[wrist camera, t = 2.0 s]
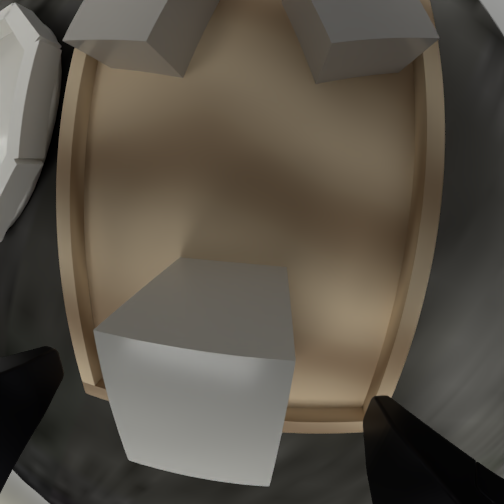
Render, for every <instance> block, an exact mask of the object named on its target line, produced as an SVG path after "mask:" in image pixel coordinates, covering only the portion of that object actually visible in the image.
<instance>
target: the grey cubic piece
mask: <svg viewBox="0 0 504 504" xmlns="http://www.w3.org/2000/svg"><path fill="white" fill-rule="evenodd" d="M219 1H220V0H84V1H83V3H82V4H81V6H80V8H79V10H78V11H77V13H76V15H75V17H74V19H73V21H72V22H71V24H70V26H69V28H68V30H67V32H66V34H65V36H64V38H63V40H62V41H64V42H65V43H67V44H69V45H71V46H73V47H75V48H77V49H78V50H80V51H82V52H84V53H86V54H87V55H89V56H91V57H93V58H94V59H96V60H98V61H100V62H101V63H103V64H105V65H107V66H108V67H110V68H115V69H125V70H134V71H142V72H149V73H156V74H162V75H168V76H174V77H180V78H183V77H184V75H185V72H186V70H187V68H188V65H189V63H190V61H191V58H192V56H193V54H194V52H195V49H196V47H197V45H198V43H199V41H200V39H201V37H202V34H203V32H204V30H205V28H206V26H207V24H208V22H209V20H210V18H211V16H212V14H213V12H214V10H215V9H216V7H217V5H218V3H219Z"/></svg>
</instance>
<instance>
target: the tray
mask: <svg viewBox="0 0 504 504" xmlns="http://www.w3.org/2000/svg"><path fill="white" fill-rule="evenodd" d="M420 2H421V4H422V5H423V7H424V9H425V11H426V12H427V14H428V16H429V18H430V20H431V22H432V23H433V25H434V27H435V22H434V17H433V12H432V8H431V3H430V0H420ZM435 29H436V27H435ZM444 157H445V109H444V90H443V78H442V68H441V59H440V52H439V45H438V40H437V41H436V42H435V43H434V44H433V45H431V46H430V47H429V48H428V49H426V50H425V51H424V52H423V53H422V54H420V55H419V56H418V57H417V58H416V59H414V60H413V61H412V62H411V63H410V64H408V65H407V66H406V67H405V68H404V69H403V70H401V71H400V72H399V73H389V74H379V75H370V76H362V77H355V78H348V79H342V80H336V81H330V82H325V83H319V84H315V81H314V79H313V76H312V73H311V71H310V68H309V66H308V63H307V60H306V58H305V55H304V53H303V50H302V48H301V45H300V43H299V41H298V38H297V36H296V34H295V31H294V29H293V27H292V25H291V22H290V20H289V18H288V16H287V13H286V11H285V9H284V7H283V5H282V0H220V1H219V3H218V5H217V7H216V9H215V10H214V12H213V14H212V16H211V18H210V20H209V22H208V24H207V26H206V28H205V30H204V32H203V34H202V37H201V39H200V41H199V43H198V45H197V47H196V49H195V52H194V54H193V56H192V58H191V61H190V63H189V65H188V68H187V70H186V72H185V75H184V77H183V78H180V77H174V76H168V75H162V74H156V73H149V72H142V71H134V70H125V69H115V68H110V67H108V66H107V65H105V64H103V63H101V62H100V61H98V60H96V59H94V58H93V57H91V56H89V55H87V54H86V53H84V52H82V51H80V50H78V49H77V48H74V52H73V56H72V61H71V65H70V69H69V74H68V79H67V84H66V90H65V96H64V102H63V108H62V116H61V124H60V133H59V143H58V157H57V177H56V218H57V239H58V253H59V264H60V273H61V281H62V289H63V296H64V302H65V308H66V314H67V319H68V325H69V330H70V334H71V339H72V344H73V348H74V352H75V356H76V360H77V364H78V368H79V372H80V375H81V379H82V382H83V386H84V389H85V392H86V393H87V394H90V395H92V396H95V397H98V398H101V399H104V400H107V401H109V399H108V395H107V391H106V387H105V383H104V379H103V375H102V371H101V367H100V362H99V357H98V353H97V348H96V343H95V337H94V332H93V330H94V329H95V328H96V327H97V326H98V325H99V324H101V323H102V322H103V321H104V320H105V319H106V318H108V317H109V316H110V315H111V314H112V313H113V312H115V311H116V310H117V309H118V308H119V307H120V306H122V305H123V304H124V303H125V302H126V301H128V300H129V299H130V298H131V297H132V296H133V295H135V294H136V293H137V292H138V291H139V290H141V289H142V288H143V287H144V286H145V285H147V284H148V283H149V282H150V281H152V280H153V279H154V278H155V277H156V276H158V275H159V274H160V273H161V272H163V271H164V270H165V269H166V268H167V267H169V266H170V265H171V264H172V263H174V262H175V261H176V260H177V259H179V258H180V257H182V258H193V259H203V260H214V261H225V262H236V263H247V264H258V265H270V266H281V267H287V274H288V283H289V293H290V303H291V313H292V324H293V335H294V347H295V359H296V362H295V368H294V373H293V379H292V384H291V389H290V395H289V400H288V405H287V410H286V415H285V420H284V425H283V429H282V432H284V433H356V432H363V418H364V415H365V413H366V410H367V408H368V405H369V403H370V400H371V399H372V397H374V396H380V395H387V396H389V397H392V395H393V392H394V390H395V388H396V385H397V382H398V380H399V377H400V375H401V372H402V369H403V366H404V364H405V361H406V358H407V355H408V352H409V349H410V346H411V343H412V340H413V337H414V333H415V330H416V327H417V323H418V320H419V316H420V312H421V309H422V305H423V301H424V297H425V293H426V289H427V284H428V280H429V275H430V271H431V266H432V261H433V255H434V250H435V244H436V238H437V232H438V225H439V217H440V209H441V200H442V189H443V176H444Z"/></svg>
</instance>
